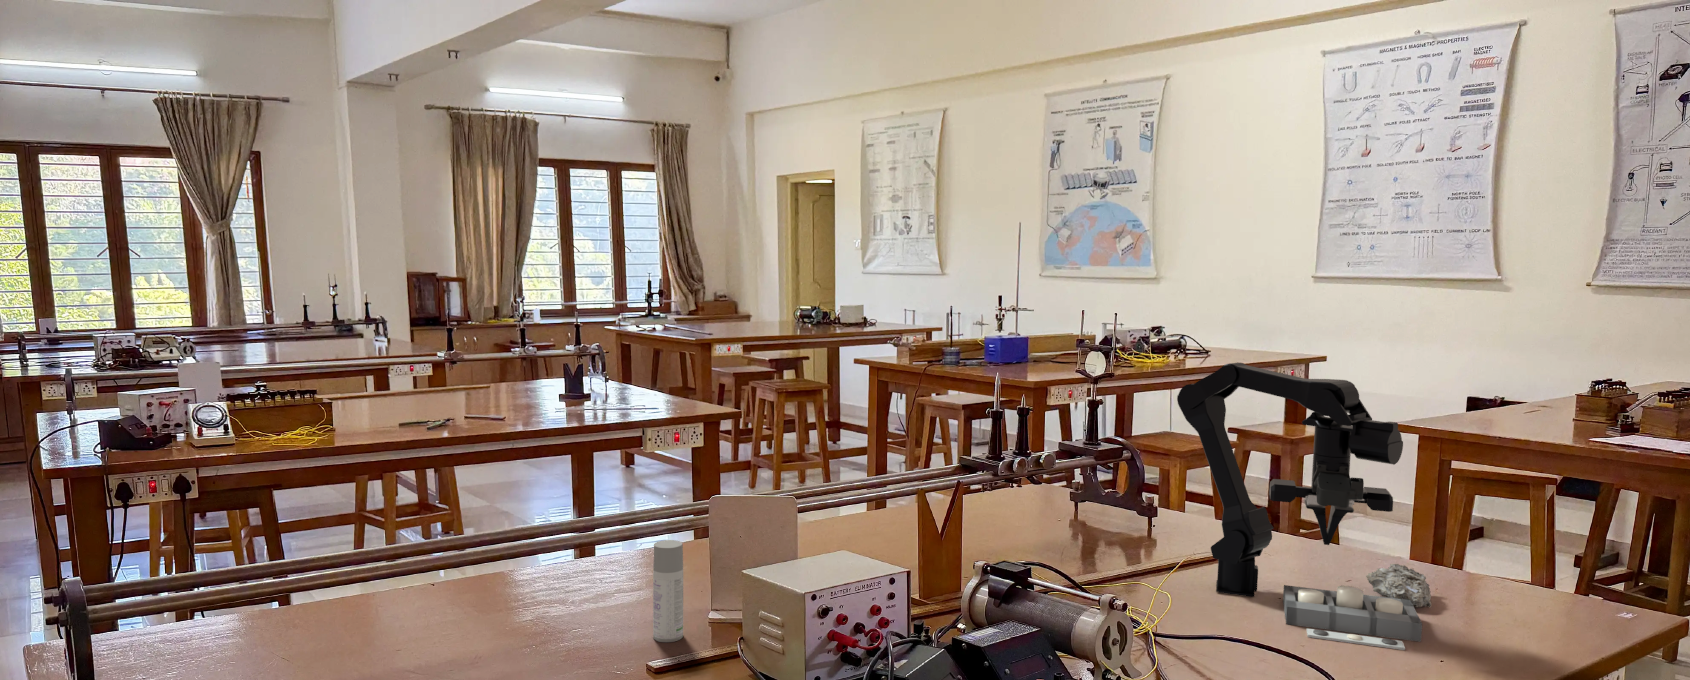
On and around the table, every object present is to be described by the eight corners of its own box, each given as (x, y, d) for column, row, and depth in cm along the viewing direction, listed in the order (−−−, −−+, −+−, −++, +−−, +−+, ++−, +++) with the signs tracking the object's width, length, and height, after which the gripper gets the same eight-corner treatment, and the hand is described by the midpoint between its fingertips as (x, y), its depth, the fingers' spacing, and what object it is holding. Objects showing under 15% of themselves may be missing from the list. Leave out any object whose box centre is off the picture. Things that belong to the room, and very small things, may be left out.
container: (647, 639, 161) (647, 546, 160) (662, 629, 166) (662, 538, 164) (673, 644, 160) (674, 549, 158) (688, 633, 164) (688, 541, 163)
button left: (1297, 615, 176) (1299, 594, 176) (1296, 607, 180) (1297, 587, 179) (1323, 618, 175) (1324, 597, 174) (1321, 610, 178) (1322, 590, 178)
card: (1307, 636, 167) (1308, 633, 167) (1306, 630, 170) (1306, 627, 170) (1404, 650, 162) (1405, 646, 162) (1401, 643, 165) (1402, 639, 165)
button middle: (1337, 612, 174) (1338, 591, 173) (1334, 604, 177) (1336, 584, 177) (1363, 615, 172) (1364, 594, 172) (1360, 607, 176) (1361, 587, 176)
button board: (1286, 623, 173) (1287, 606, 173) (1282, 601, 184) (1283, 584, 184) (1420, 641, 166) (1422, 623, 166) (1408, 617, 177) (1410, 600, 177)
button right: (1376, 625, 172) (1377, 604, 171) (1373, 617, 176) (1374, 596, 175) (1403, 628, 170) (1404, 607, 170) (1399, 620, 174) (1401, 599, 174)
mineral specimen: (1426, 597, 190) (1443, 613, 178) (1362, 592, 193) (1374, 608, 182) (1427, 565, 190) (1444, 579, 178) (1362, 560, 193) (1375, 575, 182)
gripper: (1274, 458, 171) (1269, 550, 172) (1400, 468, 164) (1394, 564, 165) (1271, 446, 181) (1266, 533, 182) (1390, 455, 174) (1384, 545, 176)
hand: (1326, 544), depth 176 cm, fingers closed
